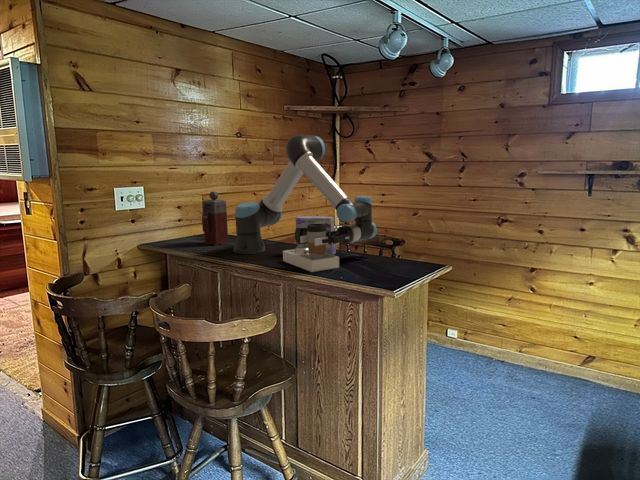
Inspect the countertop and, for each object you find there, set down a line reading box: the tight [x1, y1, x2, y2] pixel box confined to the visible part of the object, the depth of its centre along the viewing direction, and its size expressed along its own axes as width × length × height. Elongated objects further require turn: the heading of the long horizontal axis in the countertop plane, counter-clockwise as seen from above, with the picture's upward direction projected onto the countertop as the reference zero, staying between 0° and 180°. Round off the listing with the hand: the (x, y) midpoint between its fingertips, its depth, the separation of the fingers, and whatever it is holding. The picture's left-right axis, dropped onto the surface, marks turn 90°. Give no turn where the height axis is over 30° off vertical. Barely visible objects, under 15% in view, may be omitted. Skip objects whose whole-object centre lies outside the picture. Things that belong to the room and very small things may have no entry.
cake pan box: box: [294, 215, 337, 255], centre depth 223 cm, size 19×5×18 cm, turn 65°
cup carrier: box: [282, 248, 340, 273], centre depth 203 cm, size 25×13×4 cm, turn 31°
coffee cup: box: [306, 224, 327, 260], centre depth 197 cm, size 8×8×15 cm
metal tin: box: [294, 247, 309, 255], centre depth 208 cm, size 7×7×5 cm
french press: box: [201, 190, 229, 245], centre depth 253 cm, size 9×11×28 cm
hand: (308, 241), depth 193 cm, fingers closed on coffee cup, 8 cm apart
